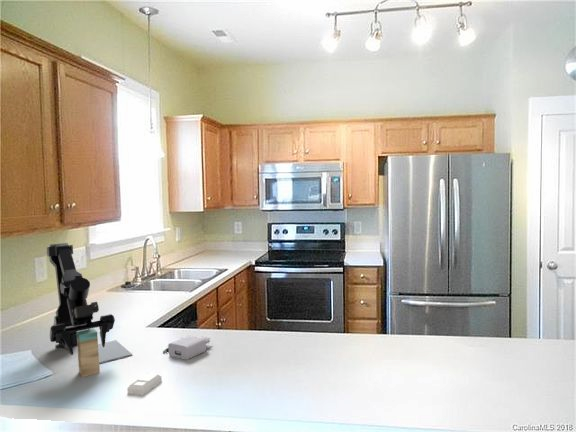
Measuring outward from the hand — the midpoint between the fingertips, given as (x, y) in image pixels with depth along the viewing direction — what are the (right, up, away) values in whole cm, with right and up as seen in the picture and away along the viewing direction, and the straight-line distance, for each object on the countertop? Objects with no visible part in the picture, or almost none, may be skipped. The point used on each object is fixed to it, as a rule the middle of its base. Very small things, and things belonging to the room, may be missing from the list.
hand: (88, 350), depth 132 cm
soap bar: (+22, -7, -12) cm, 26 cm away
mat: (-2, -7, +18) cm, 19 cm away
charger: (+30, -6, +16) cm, 34 cm away
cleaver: (+20, -6, +23) cm, 31 cm away
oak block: (0, -7, +1) cm, 7 cm away
